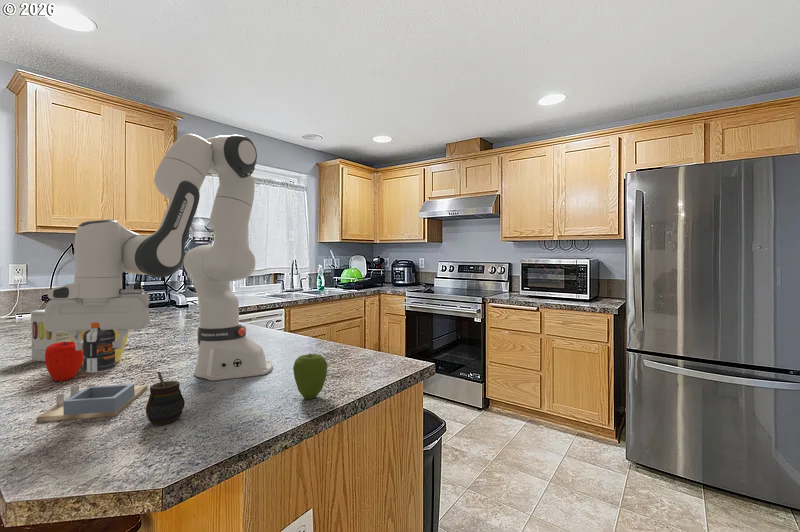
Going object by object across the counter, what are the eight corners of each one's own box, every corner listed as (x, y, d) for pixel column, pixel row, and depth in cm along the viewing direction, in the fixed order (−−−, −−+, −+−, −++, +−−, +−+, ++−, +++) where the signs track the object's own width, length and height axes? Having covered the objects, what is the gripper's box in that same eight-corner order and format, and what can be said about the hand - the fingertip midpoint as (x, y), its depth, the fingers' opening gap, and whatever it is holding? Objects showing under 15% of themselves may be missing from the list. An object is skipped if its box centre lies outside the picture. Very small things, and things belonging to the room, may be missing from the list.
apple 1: (91, 376, 118) (91, 339, 118) (58, 385, 110) (57, 346, 110) (71, 373, 121) (70, 337, 121) (37, 381, 113) (36, 343, 113)
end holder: (134, 395, 99) (134, 383, 99) (115, 411, 89) (115, 398, 89) (88, 399, 97) (87, 386, 97) (63, 415, 87) (63, 401, 87)
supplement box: (30, 360, 135) (29, 311, 135) (58, 353, 144) (57, 307, 144) (54, 361, 134) (53, 311, 133) (80, 355, 143) (79, 308, 142)
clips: (96, 393, 101) (96, 383, 101) (78, 405, 93) (78, 394, 93) (73, 395, 99) (73, 385, 99) (52, 407, 91) (52, 396, 91)
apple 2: (315, 406, 95) (315, 358, 95) (285, 401, 98) (285, 355, 98) (333, 394, 103) (333, 350, 103) (305, 390, 106) (305, 347, 106)
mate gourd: (156, 430, 82) (155, 382, 82) (138, 422, 86) (137, 376, 86) (191, 418, 88) (189, 373, 88) (172, 411, 92) (171, 368, 92)
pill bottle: (98, 373, 89) (97, 323, 89) (76, 372, 90) (75, 322, 90) (121, 366, 95) (121, 319, 95) (100, 365, 96) (100, 318, 96)
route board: (147, 389, 107) (147, 385, 107) (115, 415, 89) (115, 410, 89) (82, 393, 104) (82, 389, 104) (36, 421, 86) (36, 416, 86)
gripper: (154, 288, 98) (154, 344, 98) (56, 288, 93) (57, 348, 93) (143, 290, 92) (144, 350, 92) (38, 291, 87) (39, 354, 87)
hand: (99, 349), depth 93 cm, fingers closed on pill bottle, 6 cm apart
